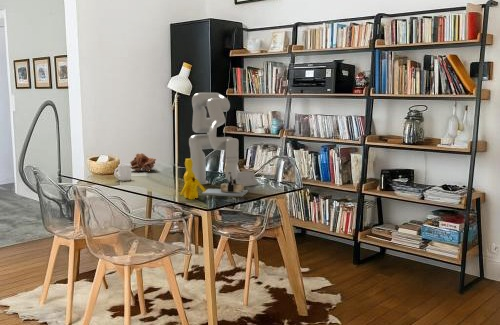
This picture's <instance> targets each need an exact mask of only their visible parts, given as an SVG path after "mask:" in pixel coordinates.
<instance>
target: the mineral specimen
mask: <svg viewBox="0 0 500 325" xmlns="http://www.w3.org/2000/svg"><path fill="white" fill-rule="evenodd" d="M156 161H157V159H156V158H154V157H149V156H147V155H146V154H144V153H136V154H135V156H134V158H133V159H132V160H131V161H130V162H129V164H131V170H134V171H136V172H141V170H143V169H146V170H145V171H147V172H149V170H151V171H152V169H153V168H154V167H155V164H156Z"/></svg>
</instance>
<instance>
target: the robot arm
mask: <svg viewBox="0 0 500 325" xmlns="http://www.w3.org/2000/svg"><path fill="white" fill-rule="evenodd" d="M191 105H192V111H193V112H192V123H191V126H192V132H194V133H196V134H193V135H191V136H190V137H189V138H188V146H189V152H190V159H192V162H193V166H192V171H193V173H194V174H195V179H198V181H199V182H200V184H201V185H202V186H204V185H208V184H209V181H208V180H207V178H206V177H207V174H206V172H207V171H206V164H207V163H206V159H207V158H206V154H205V152H204V151H203V150H210V149H212V150H213V151H225V163H226V164H225V180H226V181H227V183H228V192H233V184H236V178H237V174H238V171H239V170H238V163H239V153H240V152H239V139H238V138H235V137H234V138H233V137H232V136H217V128H219V127H220V126H223V125H224V124H225V123H226V122H227V120H226V117H225V113H224V112H228V111H229V110H230V108H231V103H230V100H229V99H228V98H227V97H226V96H224V95H223V94H221V93H219V92H197V93H195V94H194V95H193V96H192V97H191ZM207 112H208V113H207ZM207 114H209V117H207ZM197 133H198V134H197ZM204 133H205V134H204Z"/></svg>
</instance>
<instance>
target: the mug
mask: <svg viewBox="0 0 500 325" xmlns="http://www.w3.org/2000/svg"><path fill="white" fill-rule="evenodd" d="M117 166H118V167H116V168H115V169H114V172H113V173H114V174H113V175H114V177H115V178H116V179H118V180H119V181H121V182H126V181H131V180H132V169H131V167H132V166H131V164H130V163H120V164H118V165H117ZM117 171H118V172H117ZM117 173H118V174H117Z"/></svg>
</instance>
